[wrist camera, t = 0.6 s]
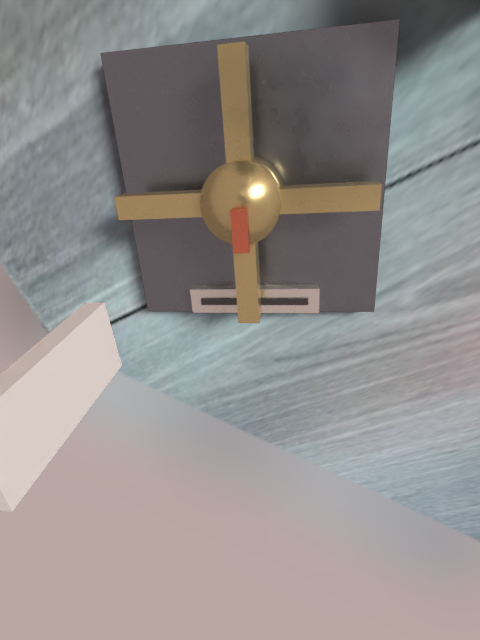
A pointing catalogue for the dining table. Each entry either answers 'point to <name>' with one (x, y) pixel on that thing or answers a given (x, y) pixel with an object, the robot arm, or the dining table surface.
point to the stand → (269, 144)
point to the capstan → (245, 189)
